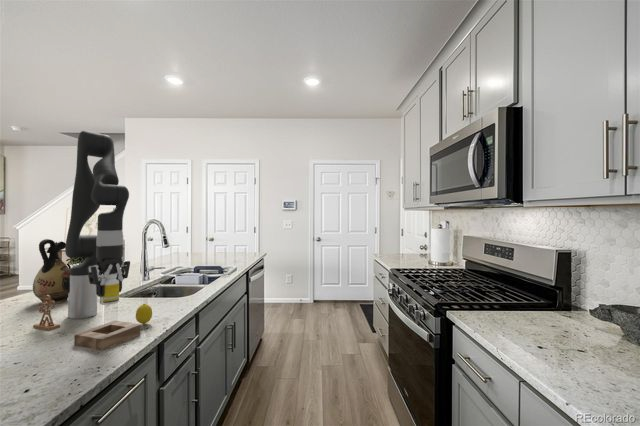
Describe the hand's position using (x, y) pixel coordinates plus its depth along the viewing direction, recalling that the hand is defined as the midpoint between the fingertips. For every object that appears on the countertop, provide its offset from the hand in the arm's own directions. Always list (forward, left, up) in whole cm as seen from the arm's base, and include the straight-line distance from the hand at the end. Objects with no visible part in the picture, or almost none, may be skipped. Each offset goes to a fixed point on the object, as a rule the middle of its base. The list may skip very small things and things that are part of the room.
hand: (109, 294), depth 106 cm
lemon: (-1, +15, -15) cm, 22 cm away
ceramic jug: (-66, +24, -15) cm, 72 cm away
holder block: (0, 0, -15) cm, 15 cm away
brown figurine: (-32, +1, -16) cm, 36 cm away
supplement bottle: (0, 0, -3) cm, 3 cm away
